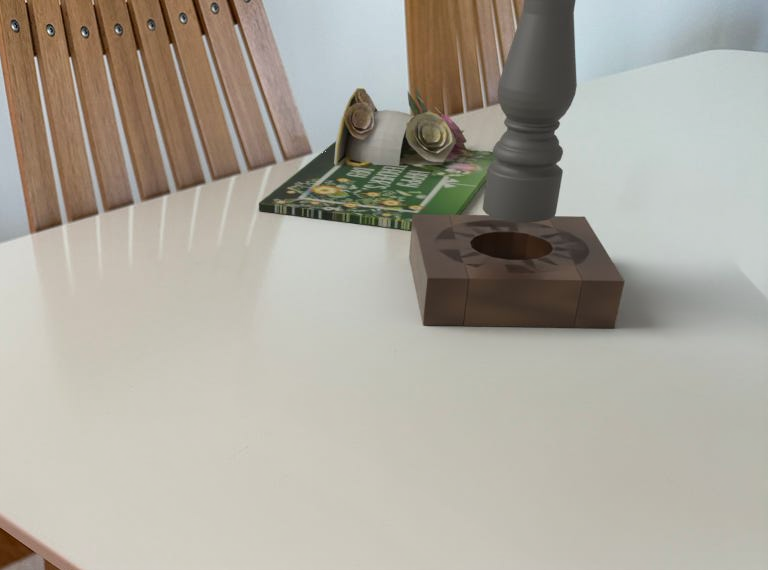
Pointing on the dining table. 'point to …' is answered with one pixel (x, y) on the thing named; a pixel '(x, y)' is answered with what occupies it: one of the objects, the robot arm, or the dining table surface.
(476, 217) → the holder
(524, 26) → the grey baluster
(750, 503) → the dining table surface
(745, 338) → the dining table surface
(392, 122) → the decorative card
